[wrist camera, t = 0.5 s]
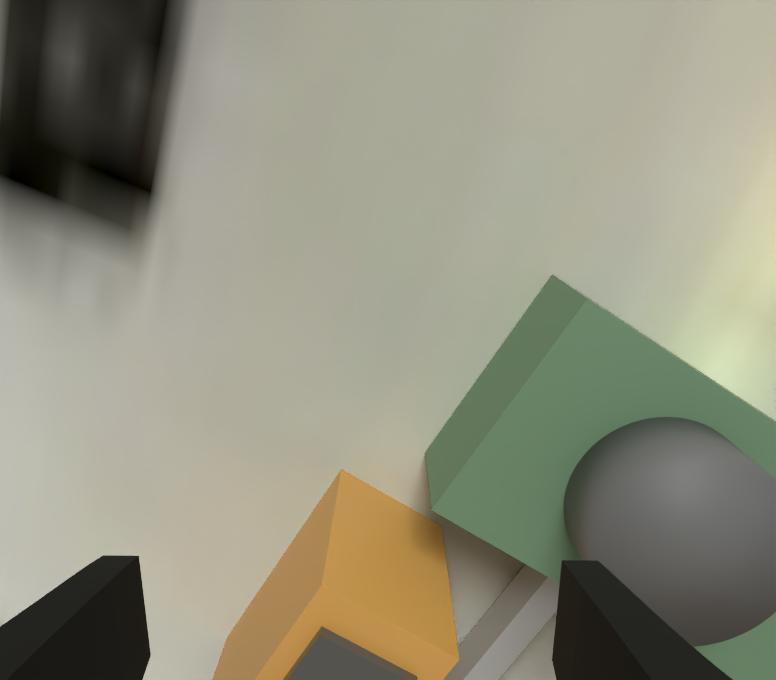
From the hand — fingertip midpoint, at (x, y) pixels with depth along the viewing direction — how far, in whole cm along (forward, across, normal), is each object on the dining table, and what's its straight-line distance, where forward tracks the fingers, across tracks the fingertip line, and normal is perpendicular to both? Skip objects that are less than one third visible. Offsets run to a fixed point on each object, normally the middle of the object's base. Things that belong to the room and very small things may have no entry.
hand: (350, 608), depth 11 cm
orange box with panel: (+10, +1, +7) cm, 12 cm away
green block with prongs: (+10, -8, +7) cm, 14 cm away
